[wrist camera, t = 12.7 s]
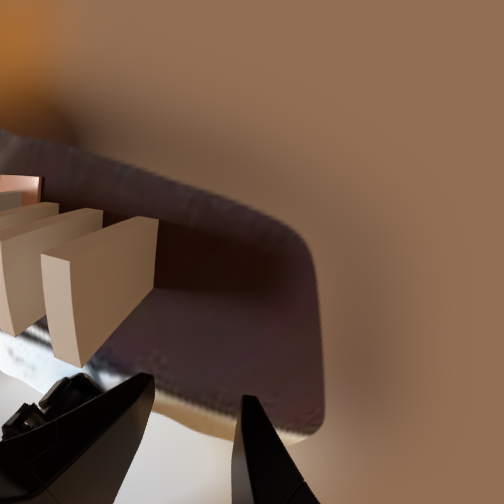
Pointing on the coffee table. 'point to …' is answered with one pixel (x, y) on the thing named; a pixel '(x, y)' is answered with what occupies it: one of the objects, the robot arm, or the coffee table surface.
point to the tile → (23, 187)
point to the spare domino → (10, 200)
